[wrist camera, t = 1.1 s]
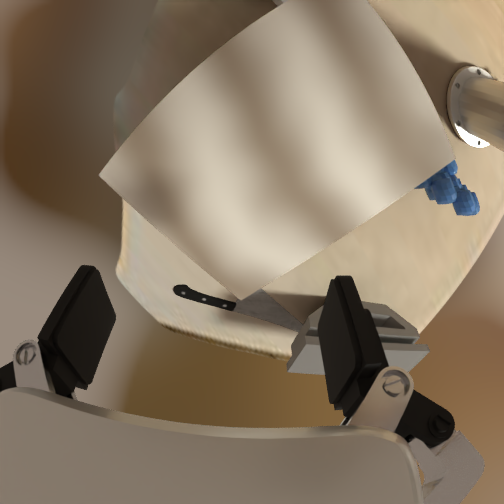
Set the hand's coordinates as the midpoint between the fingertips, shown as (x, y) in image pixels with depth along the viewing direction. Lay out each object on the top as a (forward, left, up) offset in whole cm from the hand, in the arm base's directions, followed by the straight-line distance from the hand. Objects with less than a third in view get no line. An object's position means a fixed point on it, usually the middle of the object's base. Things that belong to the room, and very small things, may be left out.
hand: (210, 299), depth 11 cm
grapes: (-18, +16, -26) cm, 36 cm away
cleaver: (+15, +22, -26) cm, 38 cm away
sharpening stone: (+4, +36, -26) cm, 45 cm away
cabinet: (-5, -1, -26) cm, 26 cm away
